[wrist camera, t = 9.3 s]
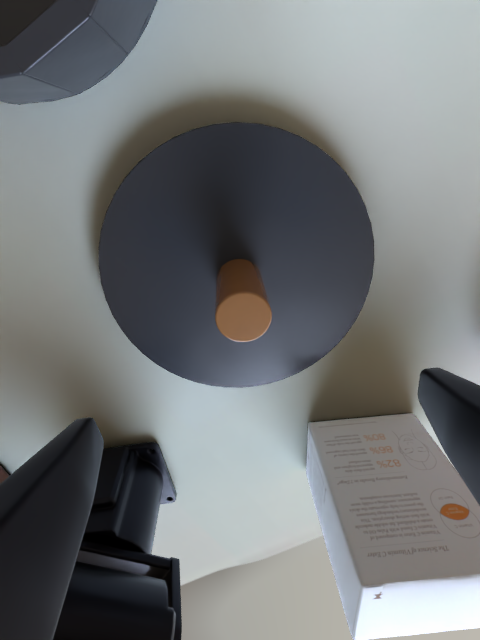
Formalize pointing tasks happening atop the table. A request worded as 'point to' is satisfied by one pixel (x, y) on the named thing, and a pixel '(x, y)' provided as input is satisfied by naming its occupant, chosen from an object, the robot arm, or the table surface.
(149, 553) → the robot arm
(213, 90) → the table surface
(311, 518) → the table surface
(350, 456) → the small box
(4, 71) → the pot
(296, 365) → the lid
